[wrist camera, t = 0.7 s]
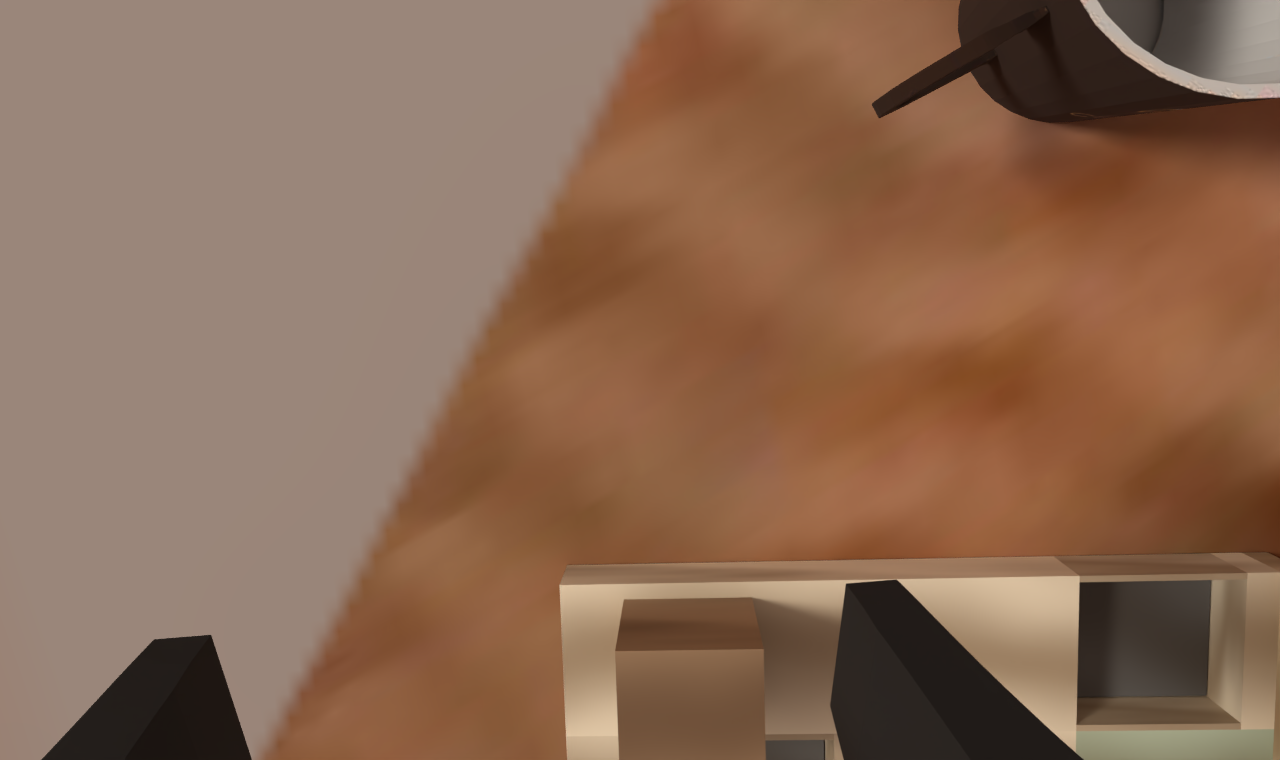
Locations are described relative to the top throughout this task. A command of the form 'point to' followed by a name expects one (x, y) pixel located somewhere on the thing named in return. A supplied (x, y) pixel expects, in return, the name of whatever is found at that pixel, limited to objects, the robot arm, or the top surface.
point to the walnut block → (690, 680)
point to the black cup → (1108, 56)
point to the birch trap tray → (985, 645)
